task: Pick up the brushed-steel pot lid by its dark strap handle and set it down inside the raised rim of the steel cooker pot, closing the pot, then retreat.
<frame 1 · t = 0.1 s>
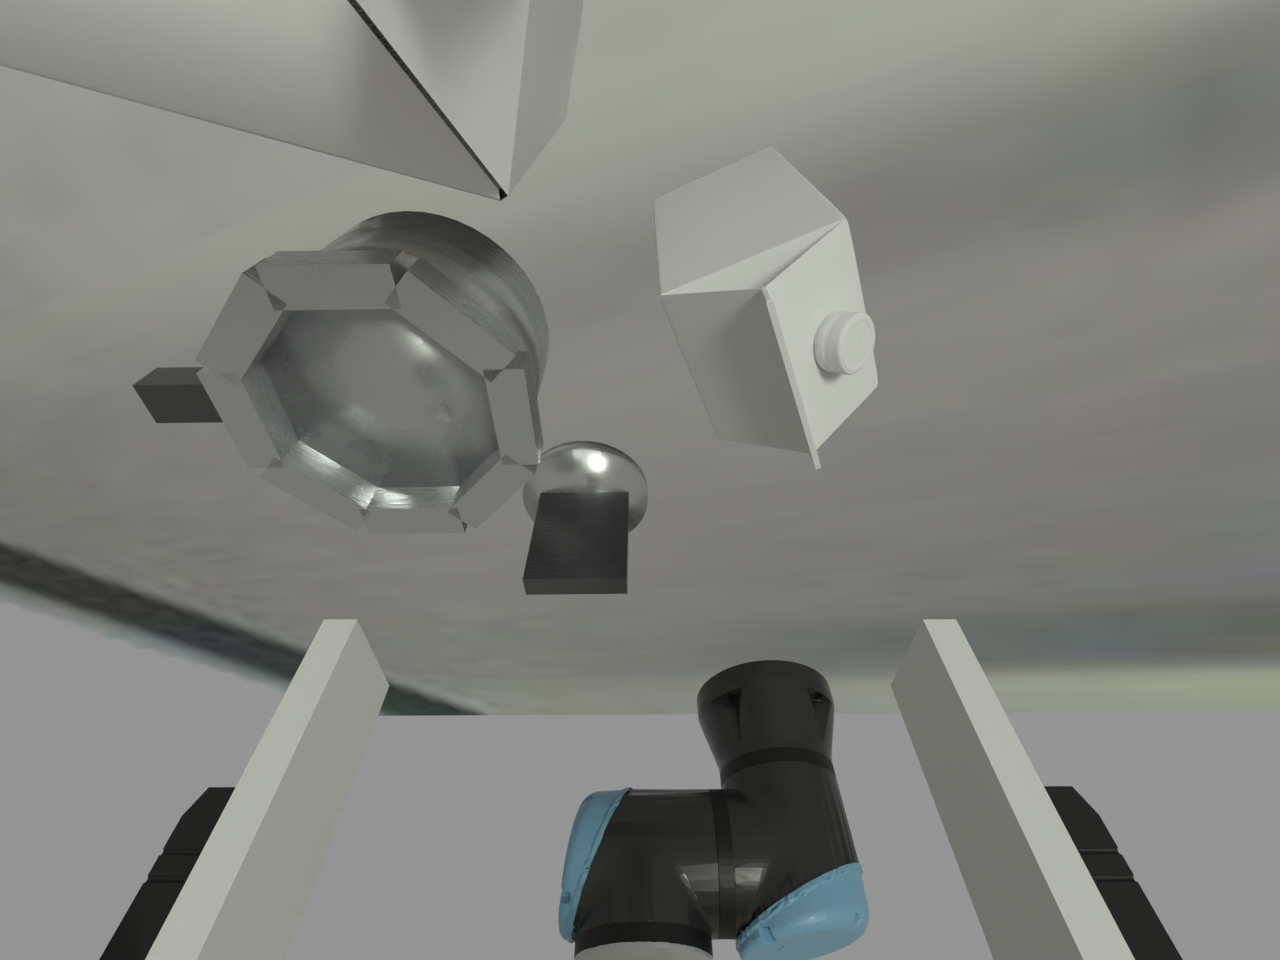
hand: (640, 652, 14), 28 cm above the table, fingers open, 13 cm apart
pot: (436, 331, 38), on the table
milk carton: (728, 231, 35), on the table
lid: (586, 490, 47), on the table
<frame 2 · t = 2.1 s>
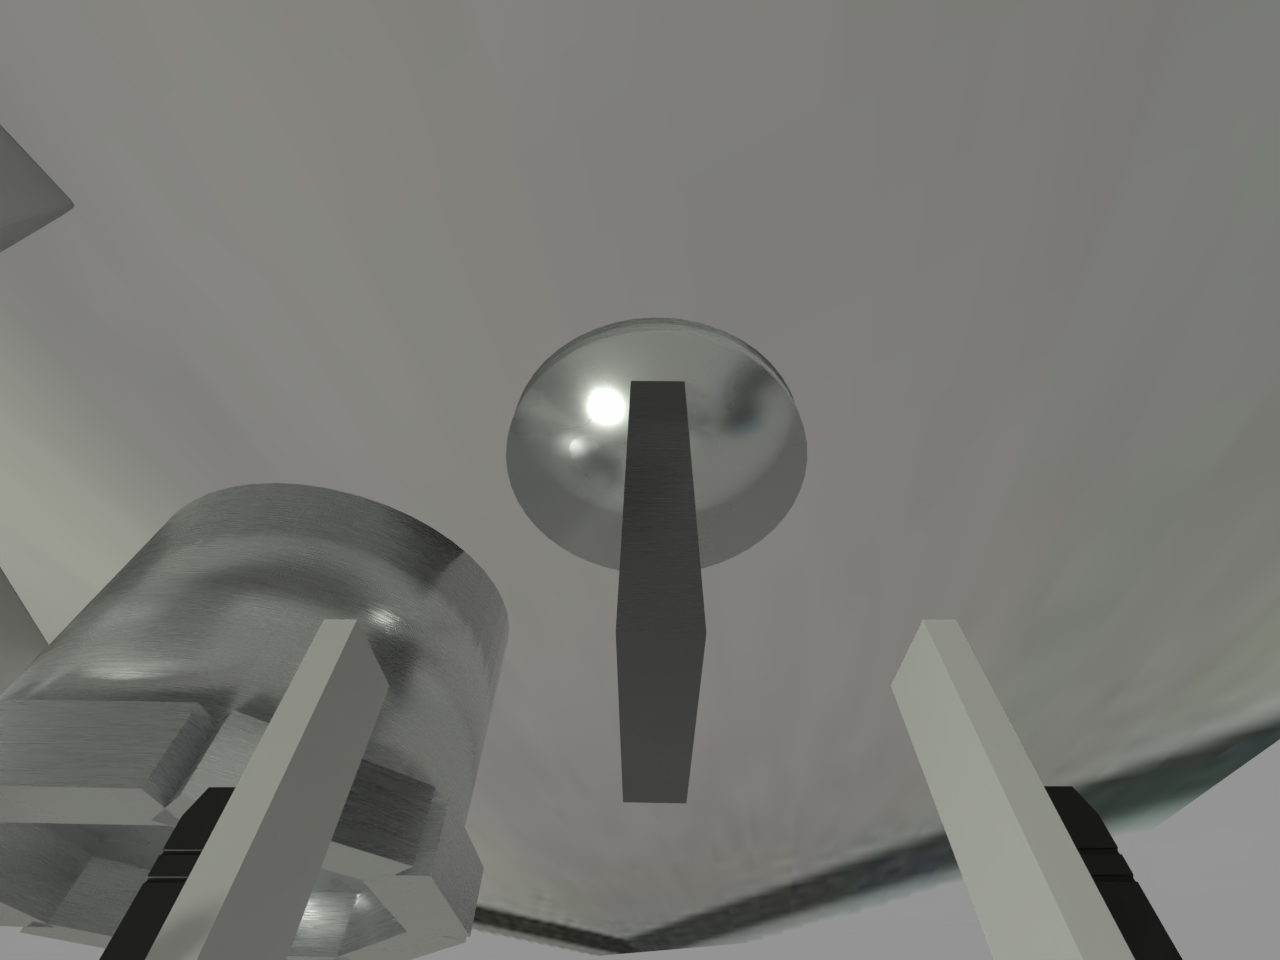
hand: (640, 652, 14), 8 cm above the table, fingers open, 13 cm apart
pot: (342, 611, 26), on the table
lid: (655, 452, 20), on the table
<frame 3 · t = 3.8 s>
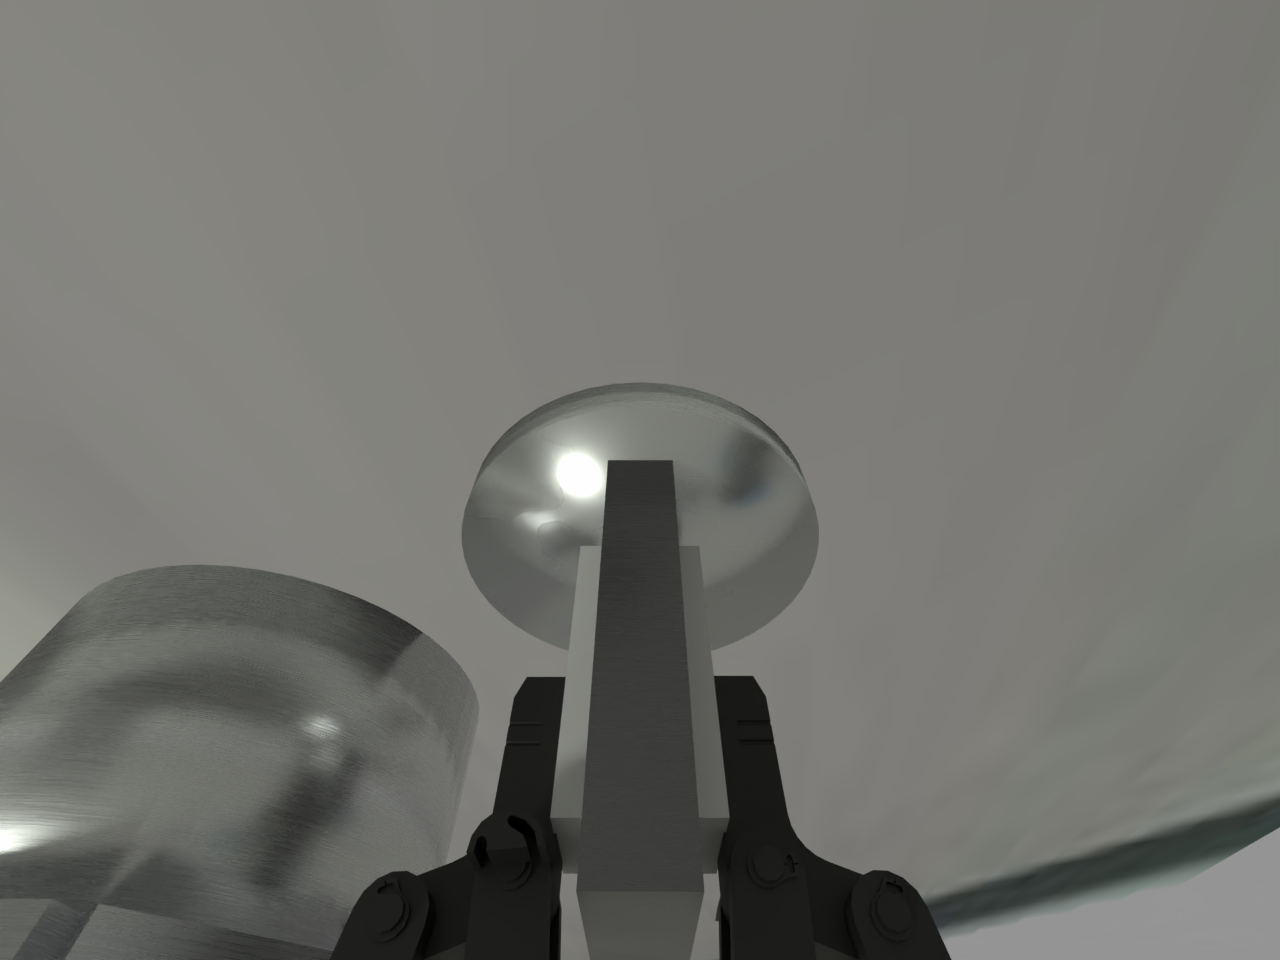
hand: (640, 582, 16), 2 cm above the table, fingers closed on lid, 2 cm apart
pot: (288, 694, 23), on the table
lid: (640, 529, 17), on the table, touching gripper
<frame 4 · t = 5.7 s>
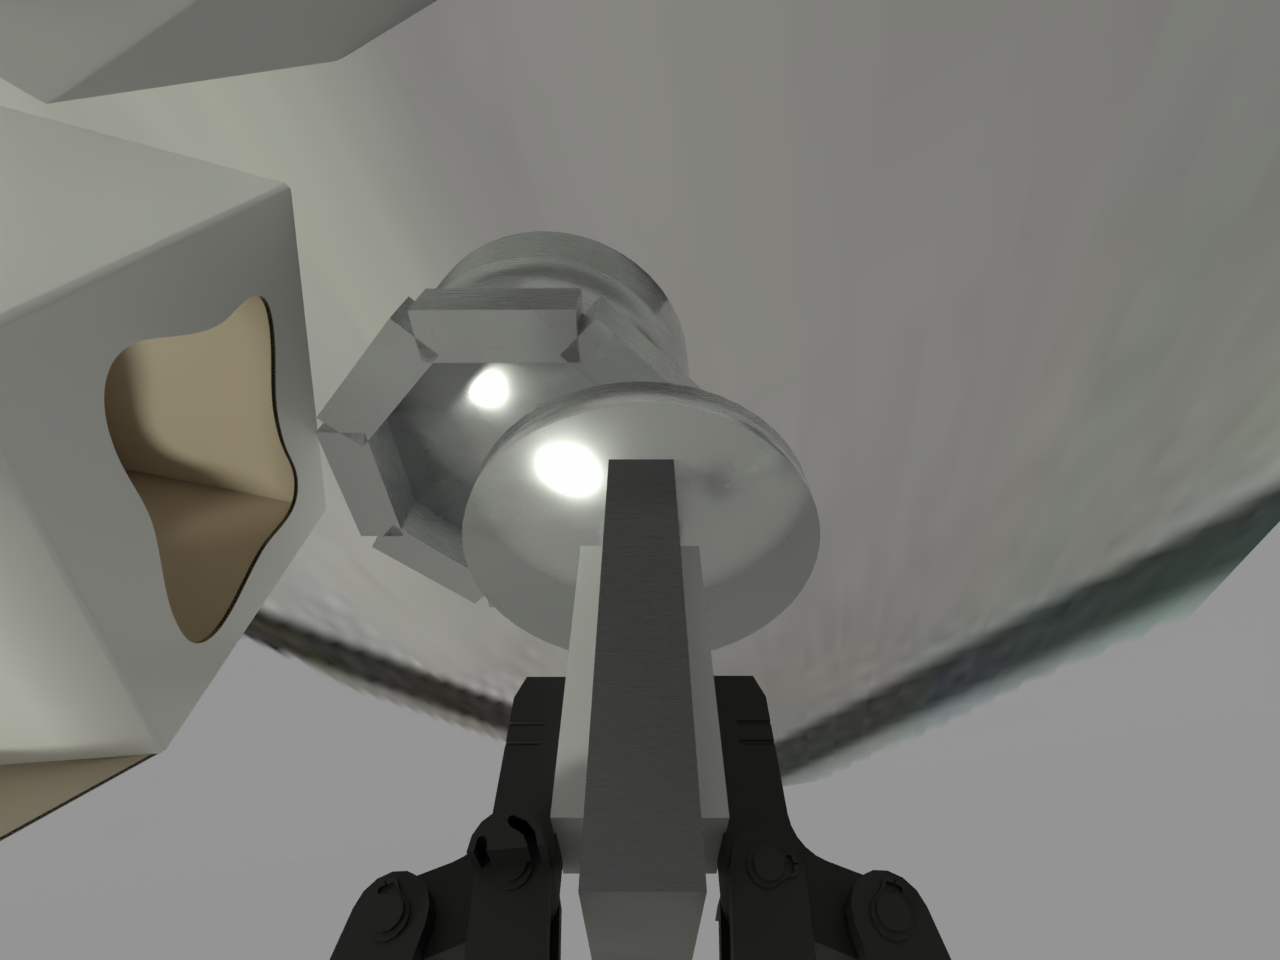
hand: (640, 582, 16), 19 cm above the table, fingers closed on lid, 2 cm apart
pot: (557, 367, 33), on the table
gable box: (196, 349, 33), on the table
lid: (640, 529, 17), point 17 cm above the table, touching gripper
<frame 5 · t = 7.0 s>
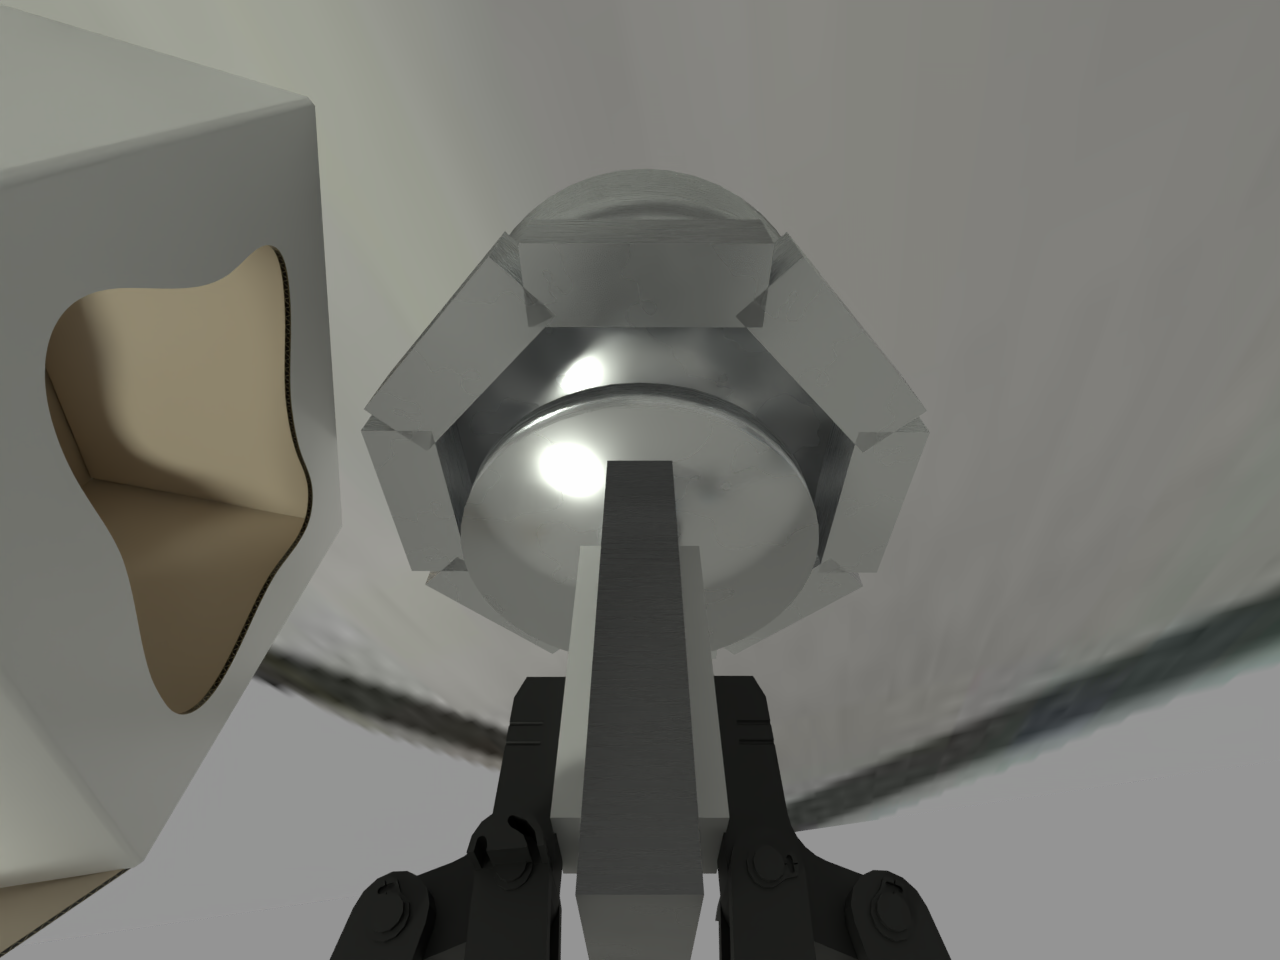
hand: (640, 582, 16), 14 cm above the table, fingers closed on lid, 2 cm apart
pot: (644, 350, 27), on the table
gable box: (183, 326, 26), on the table
lid: (639, 530, 17), point 12 cm above the table, touching gripper
when the fingers open (12 cm above the table, at t = 7.8 s): lid stays where it is, resting on pot.
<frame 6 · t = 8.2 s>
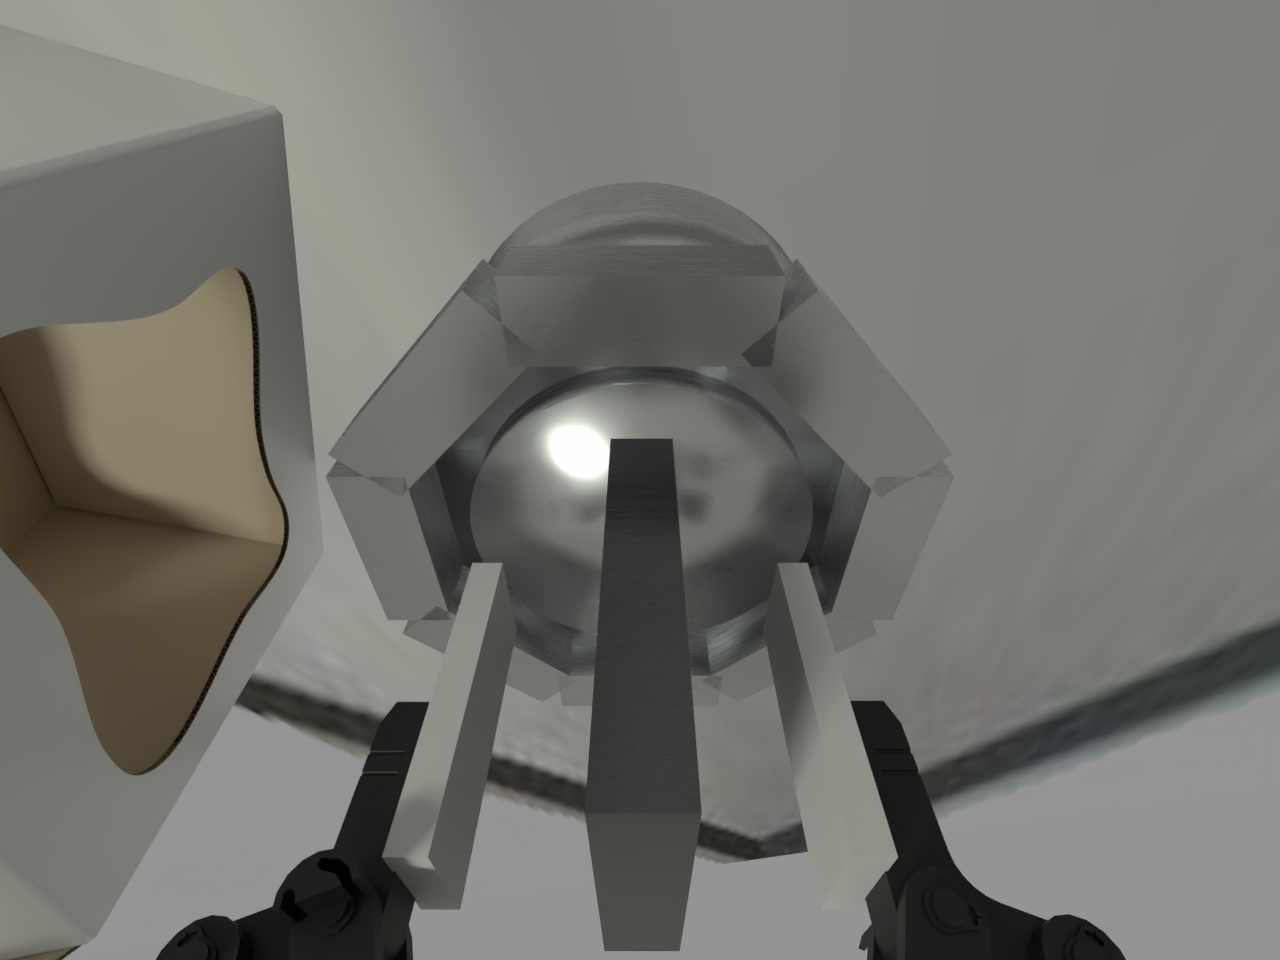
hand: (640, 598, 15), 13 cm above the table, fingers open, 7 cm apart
pot: (639, 372, 25), on the table
gable box: (149, 347, 25), on the table
lid: (641, 509, 18), point 9 cm above the table, touching pot
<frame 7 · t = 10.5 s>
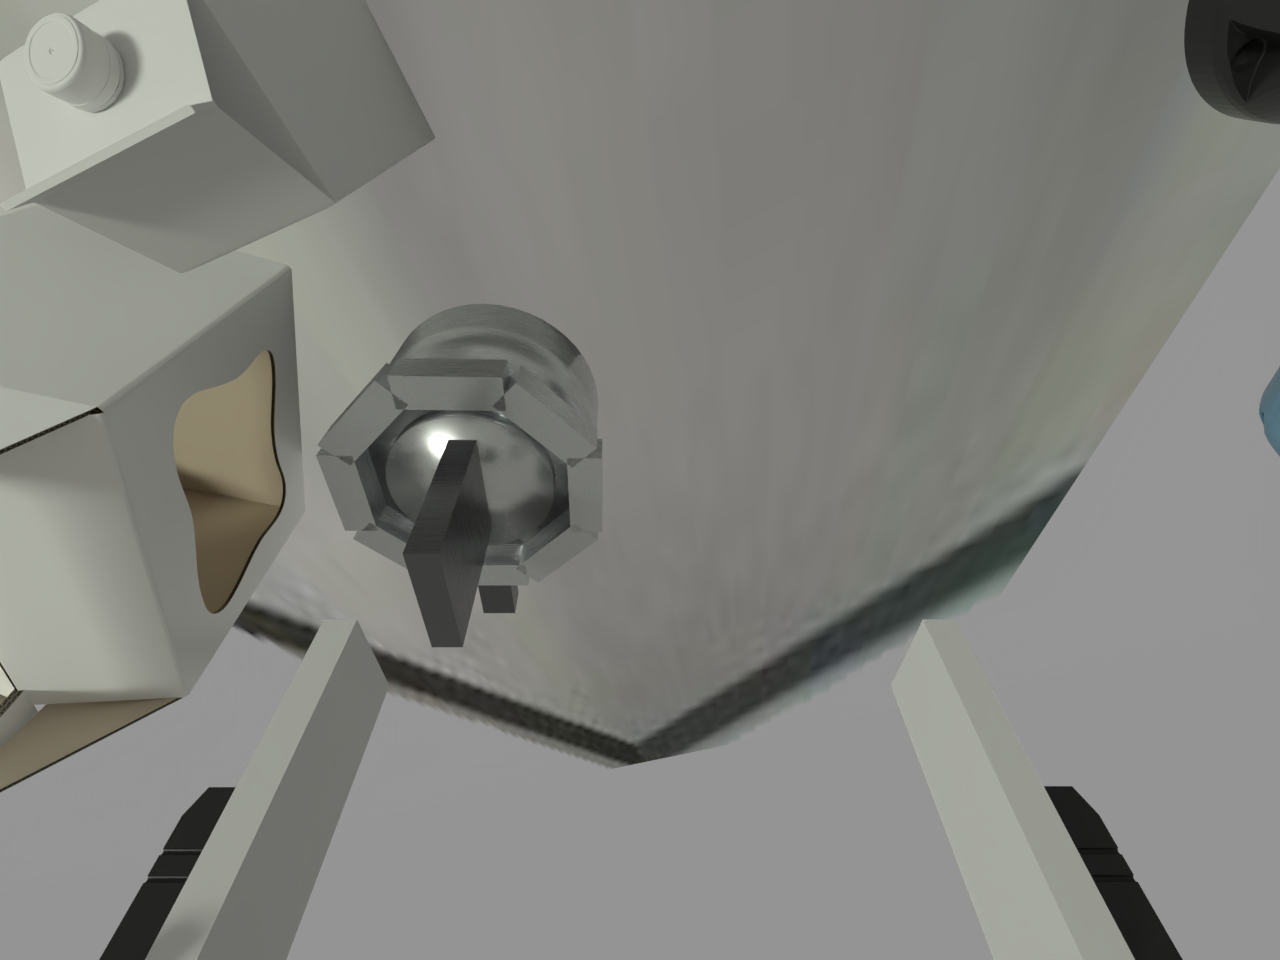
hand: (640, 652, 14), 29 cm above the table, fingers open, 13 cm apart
pot: (497, 401, 43), on the table
gable box: (203, 382, 42), on the table
milk carton: (345, 92, 31), on the table
lid: (475, 475, 36), point 9 cm above the table, touching pot
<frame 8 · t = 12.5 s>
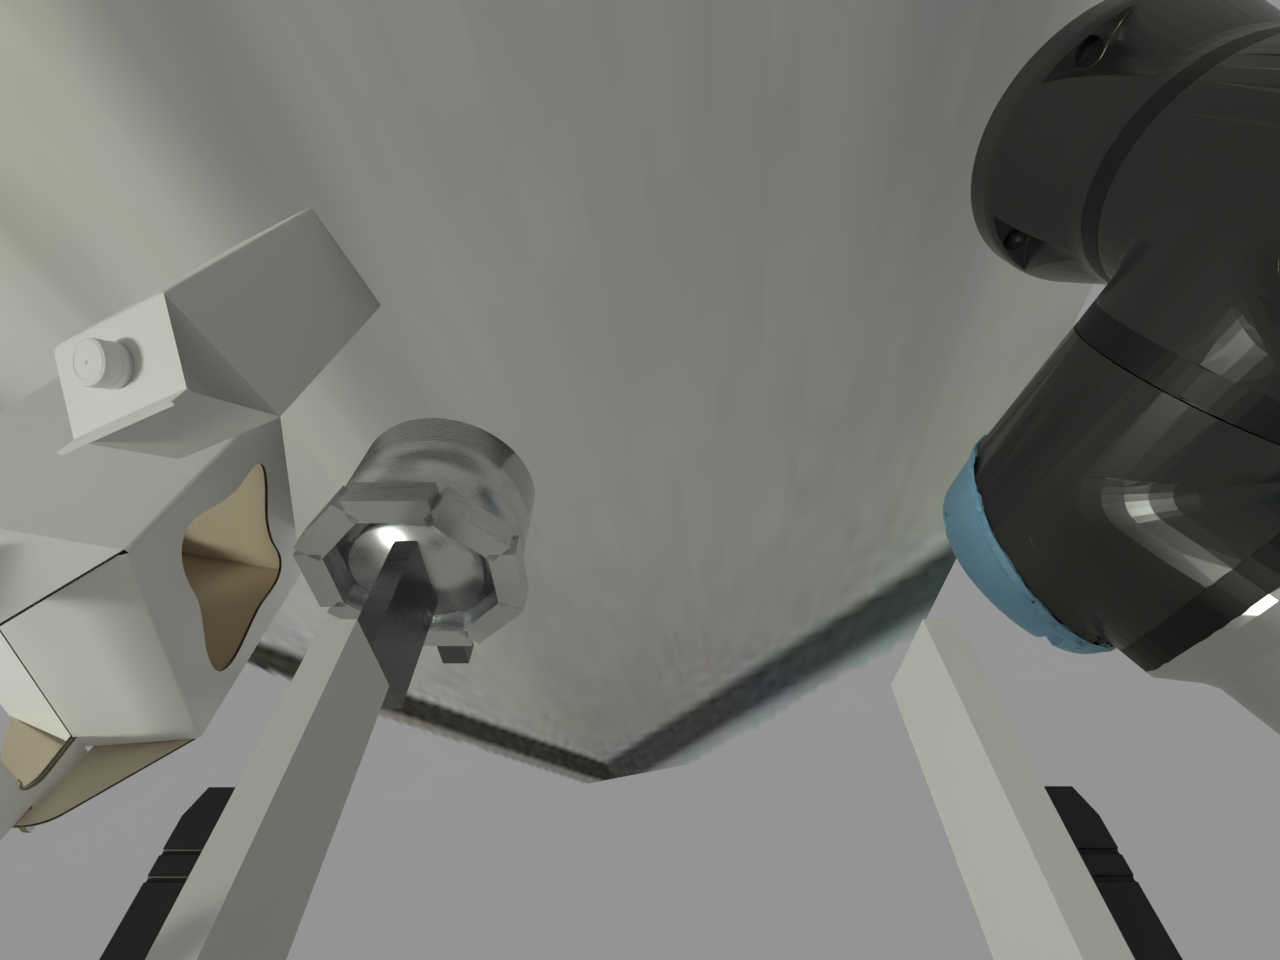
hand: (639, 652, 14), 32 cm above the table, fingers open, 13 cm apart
pot: (451, 488, 52), on the table
gable box: (214, 477, 51), on the table
milk carton: (309, 276, 40), on the table
lid: (421, 562, 45), point 9 cm above the table, touching pot
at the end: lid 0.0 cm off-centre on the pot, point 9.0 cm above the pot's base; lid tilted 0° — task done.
